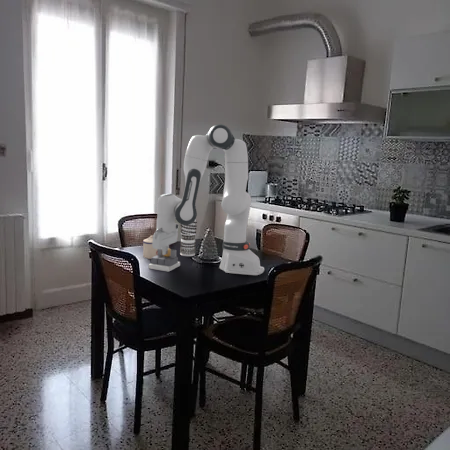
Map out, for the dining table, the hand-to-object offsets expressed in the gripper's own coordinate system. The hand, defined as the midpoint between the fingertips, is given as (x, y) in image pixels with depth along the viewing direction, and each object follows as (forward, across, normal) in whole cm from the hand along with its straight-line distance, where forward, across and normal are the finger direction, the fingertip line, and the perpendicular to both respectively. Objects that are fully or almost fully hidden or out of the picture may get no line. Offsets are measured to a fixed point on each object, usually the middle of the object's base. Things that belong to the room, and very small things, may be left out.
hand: (164, 254), depth 217 cm
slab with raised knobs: (+7, 0, 0) cm, 7 cm away
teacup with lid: (+7, +15, +16) cm, 23 cm away
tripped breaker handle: (+1, +3, 0) cm, 3 cm away
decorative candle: (+7, +29, +1) cm, 30 cm away
